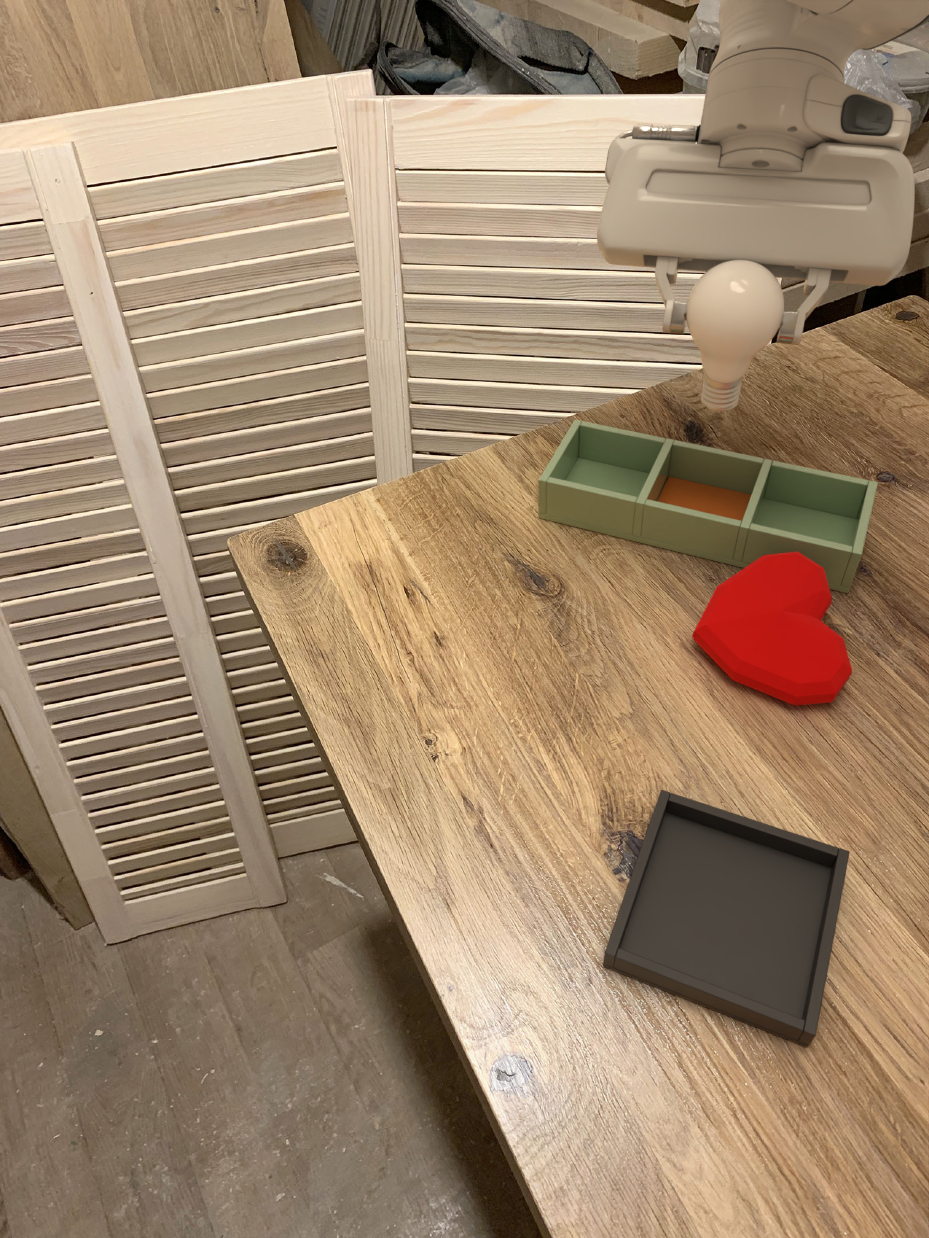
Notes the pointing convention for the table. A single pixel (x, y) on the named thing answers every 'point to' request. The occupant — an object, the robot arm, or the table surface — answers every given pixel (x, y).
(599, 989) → the table surface
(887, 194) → the robot arm
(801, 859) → the tray
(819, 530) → the green compartment box
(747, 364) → the lightbulb
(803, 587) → the heart
